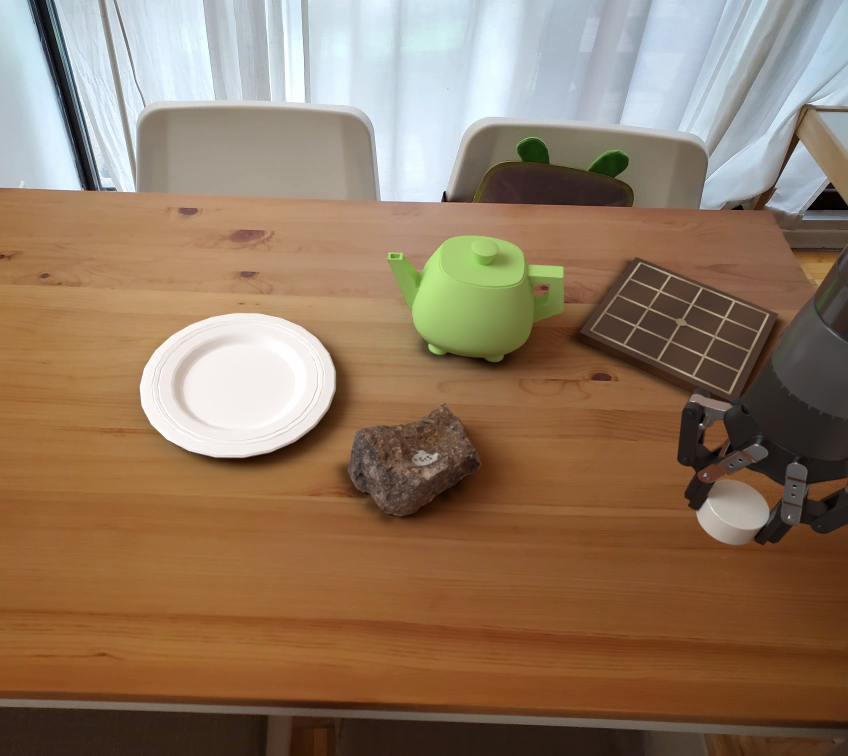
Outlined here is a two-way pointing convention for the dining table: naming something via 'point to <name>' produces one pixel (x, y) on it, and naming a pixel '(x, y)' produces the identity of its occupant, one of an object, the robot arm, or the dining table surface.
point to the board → (680, 330)
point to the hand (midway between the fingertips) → (728, 517)
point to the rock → (412, 460)
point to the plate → (238, 385)
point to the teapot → (477, 296)
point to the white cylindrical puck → (733, 512)
